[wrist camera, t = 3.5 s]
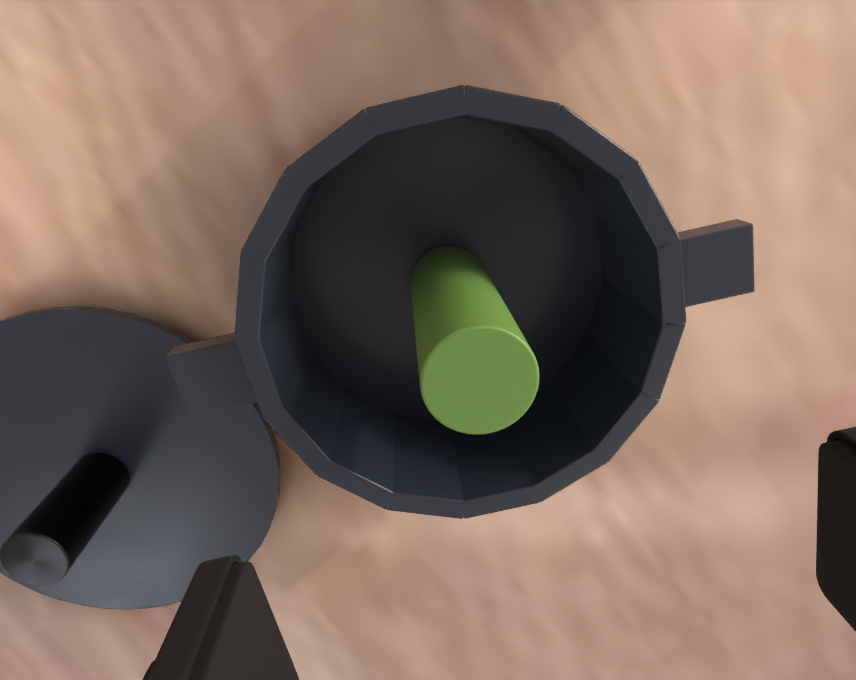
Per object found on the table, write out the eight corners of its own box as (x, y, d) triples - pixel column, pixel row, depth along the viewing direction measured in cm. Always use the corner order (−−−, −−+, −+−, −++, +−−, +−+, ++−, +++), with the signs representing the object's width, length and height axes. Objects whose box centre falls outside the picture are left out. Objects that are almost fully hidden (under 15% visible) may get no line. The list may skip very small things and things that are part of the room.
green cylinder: (402, 254, 25) (407, 341, 15) (478, 237, 25) (530, 314, 15) (419, 326, 26) (434, 446, 16) (492, 309, 26) (548, 421, 16)
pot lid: (-138, 346, 25) (-308, 422, 19) (218, 265, 25) (160, 315, 19) (29, 620, 31) (-62, 746, 25) (322, 557, 31) (303, 670, 24)
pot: (159, 159, 23) (76, 176, 17) (665, 40, 23) (763, 13, 17) (274, 470, 29) (241, 567, 23) (688, 380, 28) (769, 453, 22)
